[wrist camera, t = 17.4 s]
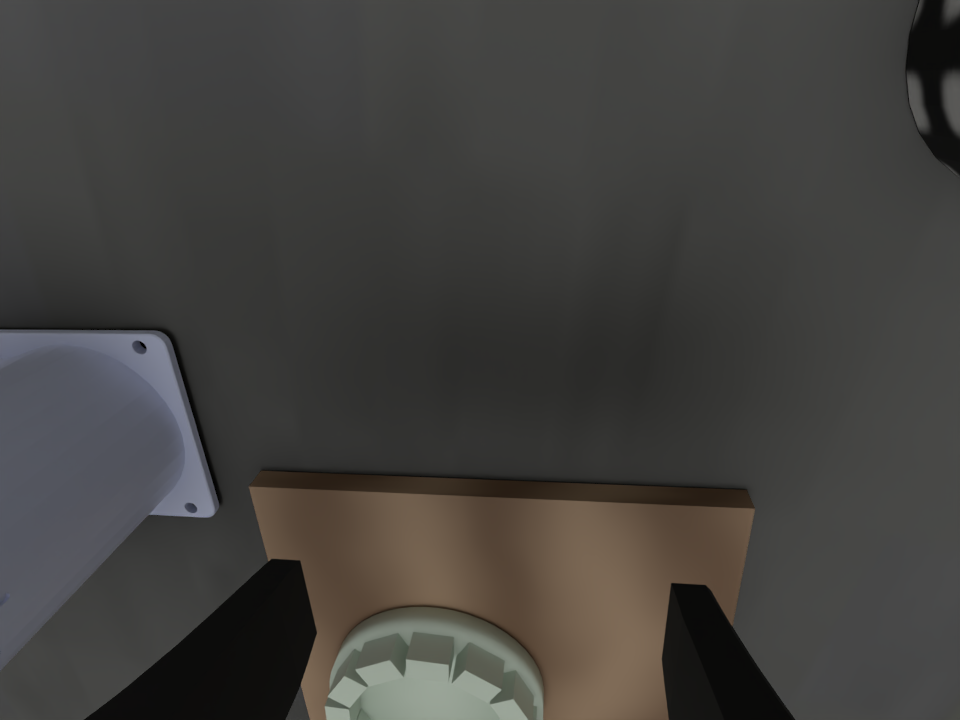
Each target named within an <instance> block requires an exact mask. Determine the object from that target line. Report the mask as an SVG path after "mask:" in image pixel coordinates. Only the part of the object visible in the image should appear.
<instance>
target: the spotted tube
mask: <svg viewBox="0 0 960 720" xmlns="http://www.w3.org/2000/svg"><path fill="white" fill-rule="evenodd" d="M906 74H907V84H908V94H909V104H910V107H911V110H912V113H913V115H914V118H915V121H916V124H917V127H918V130H919V133H920V134H921V136H922V137H923V139H924V140H925V142H926V143H927V145H928V146H929V148H930V149H931V151H932V152H933V154H934V155H935V157H936V158H937V159H939V160H940V161H941V162H942V163H943V164H944V165H945V166H947V167H948V168H949V169H950V170H951V171H952V172H953V173H955V174H956V175H957V176H959V177H960V0H920V2H919V5H918V9H917V12H916V15H915V19H914V22H913V26H912V29H911V33H910V39H909V49H908V58H907V68H906Z"/></svg>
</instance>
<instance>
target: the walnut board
mask: <svg viewBox="0 0 960 720" xmlns="http://www.w3.org/2000/svg"><path fill="white" fill-rule="evenodd" d="M249 489H250V493H251V497H252V501H253V505H254V508H255V512H256V516H257V520H258V524H259V527H260V531H261V535H262V539H263V543H264V546H265V550H266V554H267V558H268V562H269V561H270V560H271V559H287V560H300V561H301V565H302V570H303V574H304V578H305V583H306V587H307V591H308V595H309V600H310V604H311V608H312V613H313V617H314V621H315V626H316V630H317V635H316V638H315V641H314V645H313V648H312V651H311V654H310V658H309V661H308V664H307V667H306V670H305V673H304V676H303V679H302V682H301V687H302V691H303V694H304V698H305V702H306V706H307V710H308V713H309V717H310V720H327V719H326V712H325V704H326V701H327V699H328V697H327V696H328V694H329V691H330V675H331V671H332V668H333V666H334V663H335V661H336V658H337V656H338V653H339V651H340V648H341V645H342V643H343V641H344V640H345V638H346V637H347V635H348V634H349V633H350V632H351V631H352V630H353V629H354V628H355V627H356V626H357V625H359V624H360V623H361V622H363V621H364V620H366V619H368V618H370V617H372V616H374V615H377V614H379V613H382V612H385V611H389V610H393V609H398V608H406V607H434V608H442V609H448V610H454V611H457V612H461V613H465V614H468V615H471V616H474V617H476V618H479V619H482V620H484V621H486V622H488V623H490V624H492V625H494V626H496V627H497V628H499V629H501V630H502V631H504V632H506V633H507V634H508V635H510V636H511V637H512V638H513V639H515V640H516V641H517V642H518V643H519V644H520V645H521V646H522V647H523V648H524V649H525V650H526V651H527V652H528V653H529V655H530V656H531V657H532V659H533V660H534V662H535V664H536V665H537V667H538V669H539V671H540V674H541V677H542V681H543V686H544V704H543V720H669V717H668V709H667V701H666V693H665V685H664V676H663V667H662V652H663V644H664V636H665V628H666V620H667V612H668V604H669V596H670V588H671V583H682V584H698V585H706V586H707V587H708V588H709V589H710V590H711V591H712V593H713V595H714V596H715V598H716V600H717V602H718V603H719V605H720V607H721V609H722V610H723V612H724V614H725V615H726V617H727V619H728V620H729V622H730V624H731V625H732V626H733V621H734V616H735V611H736V605H737V600H738V595H739V590H740V585H741V579H742V574H743V569H744V564H745V559H746V553H747V548H748V543H749V538H750V533H751V527H752V522H753V517H754V512H755V507H754V505H753V503H752V501H751V498H750V496H749V494H748V492H747V490H735V489H709V488H684V487H659V486H634V485H608V484H583V483H558V482H533V481H508V480H482V479H457V478H432V477H407V476H381V475H356V474H331V473H306V472H281V471H260V473H259V474H258V475H257V477H256V478H255V479H254V480H253V482H252V483H251V484H250V486H249Z"/></svg>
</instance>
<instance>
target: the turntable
mask: <svg viewBox="0 0 960 720" xmlns="http://www.w3.org/2000/svg"><path fill="white" fill-rule="evenodd" d="M327 697H328V699H327V701H326V704H325V712H326V719H327V720H543V704H544V686H543V681H542V677H541V674H540V671H539V669H538V667H537V665H536V664H535V662H534V660H533V659H532V657H531V656H530V655H529V653H528V652H527V651H526V650H525V649H524V648H523V647H522V646H521V645H520V644H519V643H518V642H517V641H516V640H515V639H513V638H512V637H511V636H510V635H508V634H507V633H506V632H504V631H502V630H501V629H499V628H497V627H496V626H494V625H492V624H490V623H488V622H486V621H484V620H482V619H479V618H476V617H474V616H471V615H468V614H465V613H461V612H457V611H454V610H448V609H442V608H434V607H406V608H398V609H393V610H389V611H385V612H382V613H379V614H377V615H374V616H372V617H370V618H368V619H366V620H364V621H363V622H361V623H360V624H359V625H357V626H356V627H355V628H354V629H353V630H352V631H351V632H350V633H349V634H348V635H347V637H346V638H345V640H344V641H343V643H342V645H341V648H340V651H339V653H338V656H337V658H336V661H335V663H334V666H333V668H332V671H331V675H330V691H329V694H328V696H327Z"/></svg>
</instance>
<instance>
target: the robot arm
mask: <svg viewBox="0 0 960 720" xmlns="http://www.w3.org/2000/svg"><path fill="white" fill-rule="evenodd" d="M140 341H141V342H142V343H144V344H145V346H146V348H147V349H145V348H143V347H142V346H141V344H140ZM192 503H193V504H194V505H196V506H194V505H193V504H192ZM218 508H219V502H218V499H217V495H216V492H215V488H214V485H213V482H212V478H211V475H210V471H209V468H208V465H207V461H206V458H205V454H204V451H203V448H202V444H201V441H200V437H199V434H198V431H197V427H196V424H195V420H194V417H193V414H192V410H191V407H190V403H189V400H188V397H187V393H186V390H185V387H184V383H183V380H182V376H181V373H180V370H179V366H178V363H177V359H176V356H175V353H174V349H173V346H172V343H171V341H170V339H169V338H168V337H167V336H166V335H165V334H164V333H162V332H160V331H155V330H0V671H1V670H2V669H3V667H4V666H5V665H6V664H7V663H8V662H9V661H10V660H11V659H12V658H13V657H14V656H15V655H16V654H17V653H18V652H19V651H20V650H21V649H22V647H23V646H24V645H25V644H26V643H27V642H28V641H29V640H30V639H31V638H32V637H33V636H34V635H35V634H36V633H37V632H38V631H39V630H40V629H41V627H42V626H43V625H44V624H45V623H46V622H47V621H48V620H49V619H50V618H51V617H52V616H53V615H54V614H55V613H56V612H57V611H58V610H59V608H60V607H61V606H62V605H63V604H64V603H65V602H66V601H67V600H68V599H69V598H70V597H71V596H72V595H73V594H74V593H75V592H76V591H77V590H78V588H79V587H80V586H81V585H82V584H83V583H84V582H85V581H86V580H87V579H88V578H89V577H90V576H91V575H92V574H93V573H94V572H95V571H96V570H97V568H98V567H99V566H100V565H101V564H102V563H103V562H104V561H105V560H106V559H107V558H108V557H109V556H110V555H111V554H112V553H113V552H114V551H115V550H116V548H117V547H118V546H119V545H120V544H121V543H122V542H123V541H124V540H125V539H126V538H127V537H128V536H129V535H130V534H131V533H132V532H133V531H134V530H135V528H136V527H137V526H138V525H139V524H140V523H141V522H142V521H143V520H144V519H145V518H146V517H147V516H148V515H166V516H185V517H205V518H207V517H211V516H213V515H214V514H215V513H216V512H217V510H218ZM316 635H317V630H316V626H315V621H314V617H313V613H312V608H311V604H310V600H309V595H308V591H307V587H306V583H305V578H304V574H303V570H302V565H301V561H300V560H287V559H271V560H270V561H269V562H268V563H266V564H265V565H264V566H263V567H262V568H261V569H260V570H259V571H258V572H256V573H255V574H254V575H253V576H252V577H251V578H250V579H249V580H248V581H247V582H246V583H245V584H243V585H242V586H241V587H240V588H239V589H238V590H237V591H236V592H235V593H234V594H233V595H232V596H231V597H229V598H228V599H227V600H226V601H225V602H224V603H223V604H222V605H221V606H220V607H219V608H218V609H216V610H215V611H214V612H213V613H212V614H211V615H210V616H209V617H208V618H207V619H205V620H204V621H203V622H202V623H201V624H200V625H199V626H198V627H197V628H195V629H194V630H193V631H192V632H191V633H190V634H189V635H188V636H186V637H185V638H184V639H183V640H182V641H181V642H180V643H179V644H178V645H176V646H175V647H174V648H173V649H172V650H171V651H169V652H168V653H167V654H166V655H165V656H163V657H162V658H161V659H160V660H159V661H157V662H156V663H155V664H154V665H153V666H151V667H150V668H149V669H148V670H147V671H145V672H144V673H143V674H142V675H141V676H139V677H138V678H137V679H136V680H135V681H134V682H132V683H131V684H130V685H129V686H128V687H126V688H125V689H124V690H122V691H121V692H120V693H119V694H117V695H116V696H115V697H114V698H112V699H111V700H110V701H108V702H107V703H106V704H104V705H103V706H102V707H101V708H99V709H98V710H97V711H95V712H94V713H92V714H91V715H90V716H88V717H87V718H86V719H84V720H285V719H286V717H287V715H288V712H289V710H290V708H291V706H292V703H293V701H294V699H295V697H296V694H297V692H298V690H299V687H300V685H301V682H302V679H303V676H304V673H305V670H306V667H307V664H308V661H309V658H310V654H311V651H312V648H313V645H314V641H315V638H316ZM662 667H663V676H664V685H665V693H666V701H667V709H668V717H669V720H795V719H794V717H793V716H792V715H791V713H790V712H789V710H788V709H787V708H786V706H785V705H784V703H783V702H782V701H781V699H780V698H779V696H778V695H777V693H776V692H775V691H774V689H773V688H772V686H771V685H770V683H769V682H768V681H767V679H766V678H765V676H764V675H763V673H762V672H761V670H760V669H759V667H758V666H757V664H756V663H755V661H754V660H753V658H752V657H751V655H750V654H749V652H748V651H747V649H746V648H745V646H744V644H743V643H742V641H741V640H740V638H739V637H738V635H737V633H736V632H735V630H734V629H733V627H732V625H731V624H730V622H729V620H728V619H727V617H726V615H725V614H724V612H723V610H722V609H721V607H720V605H719V603H718V602H717V600H716V598H715V596H714V595H713V593H712V591H711V590H710V589H709V588H708V587H707V586H706V585H698V584H682V583H671V588H670V596H669V604H668V612H667V620H666V628H665V636H664V644H663V652H662Z"/></svg>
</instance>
